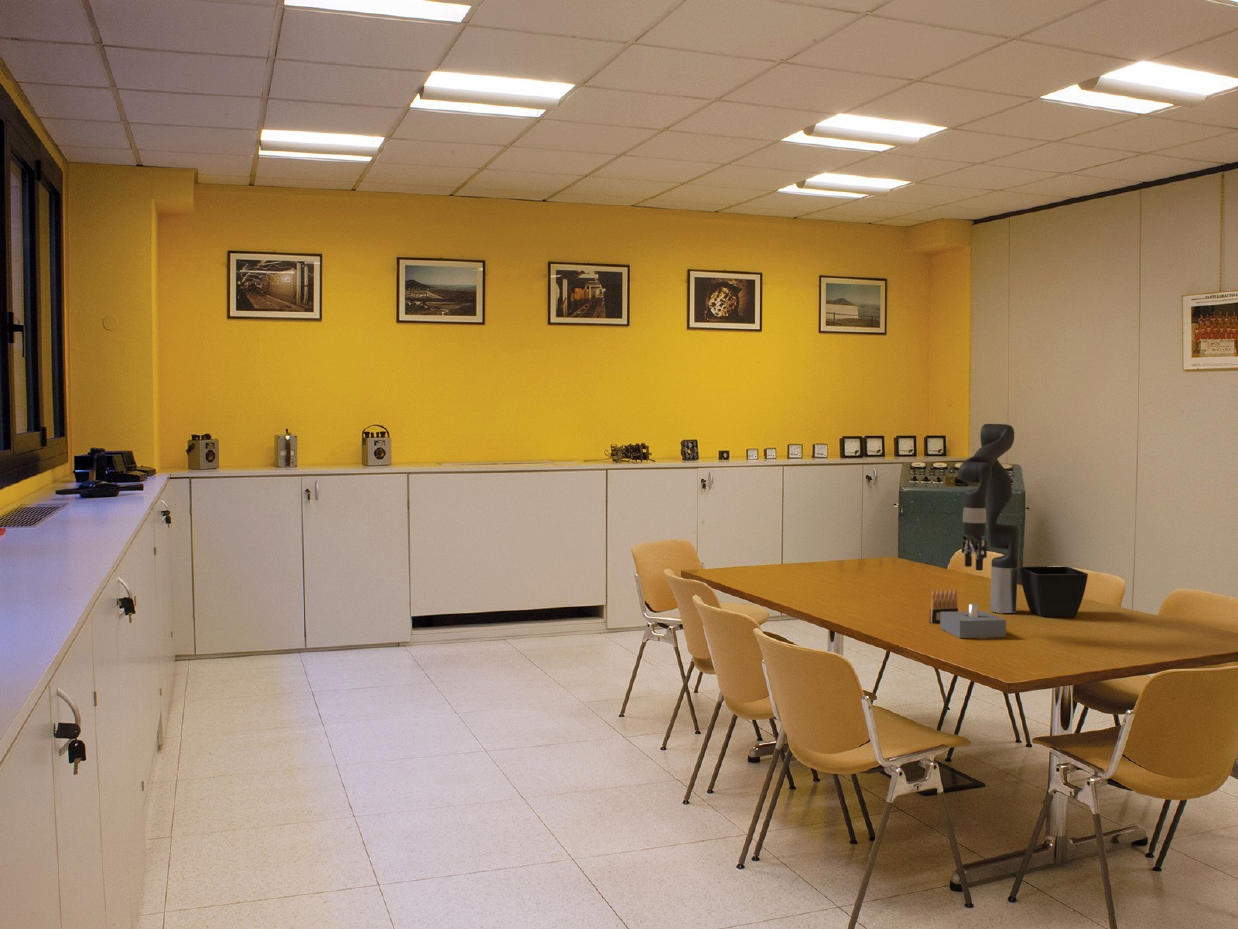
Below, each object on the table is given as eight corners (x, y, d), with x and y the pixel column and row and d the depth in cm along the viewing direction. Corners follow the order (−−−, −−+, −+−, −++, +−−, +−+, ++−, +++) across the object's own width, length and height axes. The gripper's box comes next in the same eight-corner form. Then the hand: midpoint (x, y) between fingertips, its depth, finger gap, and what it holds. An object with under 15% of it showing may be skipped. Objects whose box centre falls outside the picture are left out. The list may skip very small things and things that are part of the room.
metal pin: (966, 632, 351) (967, 603, 351) (974, 632, 351) (975, 603, 351) (970, 634, 348) (970, 605, 348) (978, 634, 348) (979, 605, 348)
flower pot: (1035, 619, 376) (1036, 573, 375) (1017, 609, 395) (1018, 566, 394) (1088, 619, 375) (1089, 574, 375) (1067, 610, 394) (1068, 566, 394)
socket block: (940, 629, 357) (940, 611, 357) (984, 628, 359) (984, 611, 358) (959, 638, 341) (960, 620, 341) (1005, 638, 343) (1006, 620, 343)
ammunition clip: (932, 623, 366) (932, 590, 366) (929, 622, 368) (929, 589, 368) (958, 622, 369) (959, 589, 369) (955, 621, 371) (956, 588, 370)
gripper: (994, 523, 341) (993, 571, 342) (975, 518, 356) (974, 565, 356) (972, 523, 341) (972, 571, 342) (954, 518, 355) (954, 565, 356)
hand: (973, 568), depth 349 cm, fingers open, 8 cm apart
